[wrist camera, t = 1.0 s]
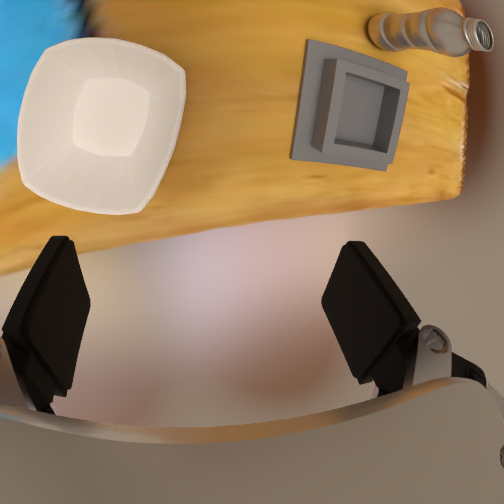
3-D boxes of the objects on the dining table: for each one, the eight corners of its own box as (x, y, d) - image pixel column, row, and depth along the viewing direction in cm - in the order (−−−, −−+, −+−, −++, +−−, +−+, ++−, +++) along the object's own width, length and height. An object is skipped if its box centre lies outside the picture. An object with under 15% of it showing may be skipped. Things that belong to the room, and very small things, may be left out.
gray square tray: (306, 39, 28) (320, 36, 24) (403, 70, 31) (423, 74, 28) (289, 157, 39) (300, 168, 35) (382, 169, 42) (399, 181, 38)
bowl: (207, 63, 29) (209, 59, 22) (159, 199, 39) (151, 229, 32) (69, 38, 21) (38, 33, 15) (40, 171, 32) (12, 195, 25)
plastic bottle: (403, 39, 28) (505, 50, 12) (379, 59, 30) (484, 74, 14) (380, 7, 25) (482, -1, 9) (353, 26, 27) (458, 18, 11)
